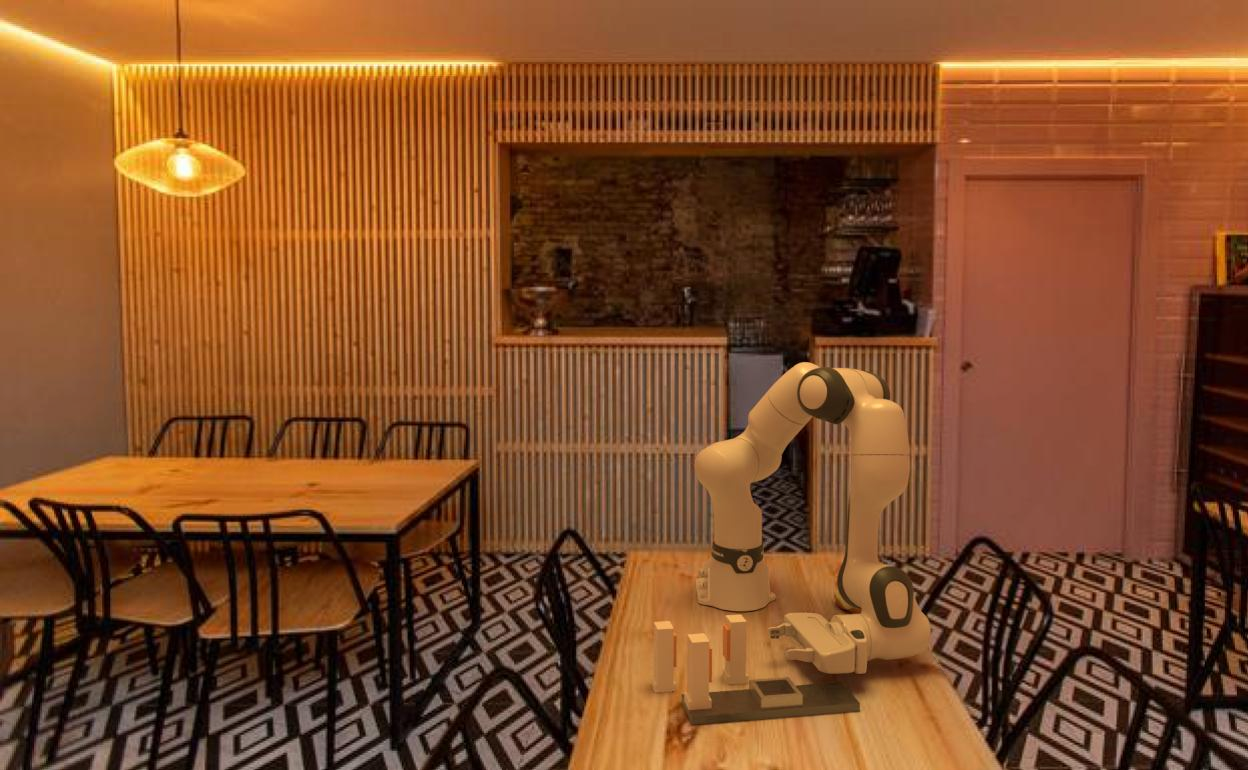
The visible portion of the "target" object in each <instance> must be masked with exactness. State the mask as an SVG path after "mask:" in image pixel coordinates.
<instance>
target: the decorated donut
mask: <svg viewBox="0 0 1248 770" xmlns="http://www.w3.org/2000/svg"><path fill="white" fill-rule="evenodd" d="M833 598H834V600H835V602H836V604H837V606H838V607H839V608H840V609H841V610H844V611H847V612H849V613H851V614H860V613H861V611H862V609H858V608H854V607H852V606H850V605H849V604H847V603H846V602H845V601H844V600H843V598H842V597H841V595H840V593H839V590H838V587H837V588H835V590H834V592H833Z"/></svg>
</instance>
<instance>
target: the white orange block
mask: <svg viewBox="0 0 1248 770" xmlns="http://www.w3.org/2000/svg"><path fill="white" fill-rule="evenodd" d="M677 637H678V636H677V633H676V632H675V629H674V626H673V624H672V623H671V620H670V621H669V620H665V621H663V620H662V621H653V676H652V675H651V676H650V684H651V685H650V686H651V687H652V690H653V693H654V692H655V693H654V694H659V693H660V692H661V693H673V692H674V693H675V692H677V682H676V681H675V677H674V674H675V673H674V668H677V650H678V649H677V648H678V647H677V645H678V644H677V643H678V641H677V639H678V638H677ZM672 691H673V692H672Z"/></svg>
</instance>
